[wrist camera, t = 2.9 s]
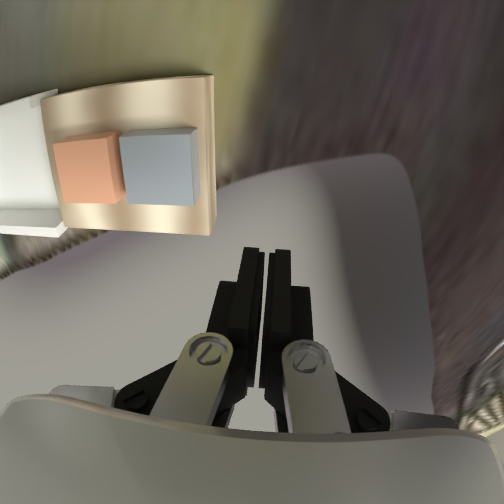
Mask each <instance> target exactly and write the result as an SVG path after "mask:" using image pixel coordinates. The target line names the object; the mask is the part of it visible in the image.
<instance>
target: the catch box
mask: <svg viewBox="0 0 504 504" xmlns="http://www.w3.org/2000/svg"><path fill="white" fill-rule="evenodd" d="M56 94H58V89H54V90H50V91H46V92H42V93H38V94H34V95H31V96H27V97H24V98H20V99H17V100H14V101H11V102H8V103H5V104H2V105H0V233H3V234H17V235H31V236H46V237H59V236H60V235H61V234H62V233H63V232H64V231H65V230H66V229H67V228H68V227H65V226H64V222H63V218H62V215H61V211H60V207H59V203H58V199H57V195H56V191H55V186H54V182H53V177H52V172H51V168H50V163H49V157H48V152H47V146H46V140H45V134H44V128H43V121H42V113H41V105H40V100H41V99H44V98H47V97H50V96H53V95H56Z"/></svg>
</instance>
